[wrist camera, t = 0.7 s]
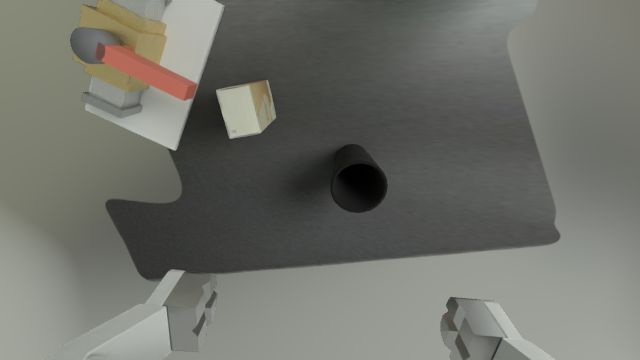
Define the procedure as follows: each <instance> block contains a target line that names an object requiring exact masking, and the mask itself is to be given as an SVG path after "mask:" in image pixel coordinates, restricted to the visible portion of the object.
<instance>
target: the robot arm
mask: <svg viewBox="0 0 640 360" xmlns="http://www.w3.org/2000/svg"><path fill="white" fill-rule="evenodd" d="M216 285H217V276H216V275H215V274H209V273H200V272H192V271H181V270H173V269H172V270H170V271H168V272H167V274H166V275H165V276H164V278H163V279H162V280H161V282H160V283H159V285H158V286H157V287H156V289H155V290H154V291H153V293H152V294H151V295H150V297H149V298H148V299H147V301H146V302H145V304H138V305H137V306H135V307H133V308H131V309H129V310H127V311H125V312H124V313H122V314H120V315H118V316H116V317H115V318H113V319H111V320H109V321H107V322H105V323H103V324H102V325H100V326H98V327H96V328H94V329H92V330H91V331H89V332H87V333H85V334H83V335H81V336H80V337H78V338H76V339H74V340H72V341H71V342H69V343H67V344H65V345H63V346H61V347H60V348H58V349H56V350H54V351H53V352H52V353H51V354H50V355H49V356H48V358H47V359H46V360H163V359H164V358H165V357H166V356H167V355H169V353H171V351H188V352H199V350H200V348H201V346H202V343H203V341H204V339H205V336H206V326H207V325H209V324H210V323H211V322H212V320H213V317H214V315H215V311H216V307H217V293H216V292H215V291H214V289H215V287H216ZM446 306H447V309H448V312H447V313H445V314H444V315H443V316H442V320H441V336H442V339H443V342H444V344H445V345H446V346H447V347H448V348H449V349H450V350H451V354H450V359H451V360H555V359H554V358H552V357H551V356H550V355H548V354H547V353H545V352H544V351H542V350H541V349H540V348H538V347H537V346H535V345H534V344H533V343H531V342H530V341H528V340H523V339H522V337H521V336H520V334H519V333H518V331H517V330H516V329H515V327H514V326H513V324H512V323H511V321H510V320H509V318H508V317H507V316H506V314H505V313H504V311H503V310H502V308H501V307H500V306H499V304H498V303H497V302H496V301H494V300H482V299H479V300H478V299H466V298H456V297H450V299H449V300H448V302H447V304H446Z"/></svg>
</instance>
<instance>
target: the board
mask: <svg viewBox="0 0 640 360" xmlns="http://www.w3.org/2000/svg"><path fill="white" fill-rule="evenodd" d="M224 8H225V6H224V5H222V4H220V3H218V2H216V1H215V0H172V2H168V1H166V3H165V7H164V10H163V14H162V18H161V22H163V23H165V24H167V26H166V30H165V33H164V35H165V36H167V40H166V43H165V47H164V50H163V54H162V57H161V61H160V64H159V65H160V66H162V67H165V68H167V69H169V70H171V71H173V72H175V73H177V74H179V75H181V76H183V77H185V78H187V79H189V80H191V81H193V82H195V83H197V84H198V85H199V82H200V79H201V76H202V73H203V70H204V67H205V64H206V61H207V58H208V55H209V52H210V49H211V46H212V43H213V40H214V37H215V34H216V32H217V29H218V26H219V23H220V20H221V17H222V14H223V11H224ZM93 78H94V76H91V81H90V86H89V91H88V92H91V88H92V83H93ZM198 85H197V88H198ZM197 88H196V91H197ZM196 91H195V94H196ZM195 94H194V97H195ZM194 97H193V98H191V99H188V100H185V101H182V100H180V99H178V98H176V97H174V96H172V95H170V94H168V93H166V92H164V91H162V90H160V89H158V88H155V87H153V86H151V85H150V87H149V89H144V90H142V92H141V96H140V99H139V104H141V105H143V107H142V111H141V112H140V113H137V114H134V115H130V116H127V117H124V118H121V119H120V118H118V117H116V116H114V115H112V114H110V113H107V112H105V111H103V110H101V109H99V108H96V107H94V106H92V105H90V104H88V103H86V105H85V110H86V111H88V112H90V113H93V114H95V115H97V116H99V117H101V118H104V119H106V120H108V121H110V122H113V123H115V124H117V125H119V126H121V127H124V128H126V129H128V130H130V131H132V132H134V133H137V134H139V135H141V136H143V137H145V138H148V139H150V140H152V141H154V142H156V143H159V144H161V145H163V146H165V147H167V148H170V149H172V150H174V151H175V150H177V147H178V144H179V141H180V138H181V136H182V133H183V130H184V127H185V124H186V121H187V118H188V115H189V112H190V109H191V106H192V103H193V100H194Z"/></svg>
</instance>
